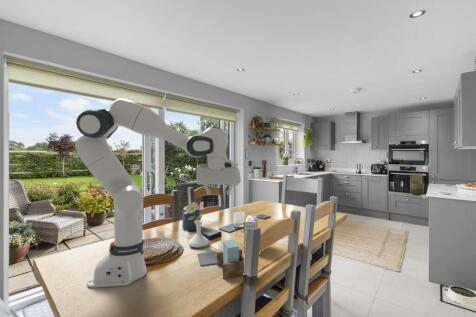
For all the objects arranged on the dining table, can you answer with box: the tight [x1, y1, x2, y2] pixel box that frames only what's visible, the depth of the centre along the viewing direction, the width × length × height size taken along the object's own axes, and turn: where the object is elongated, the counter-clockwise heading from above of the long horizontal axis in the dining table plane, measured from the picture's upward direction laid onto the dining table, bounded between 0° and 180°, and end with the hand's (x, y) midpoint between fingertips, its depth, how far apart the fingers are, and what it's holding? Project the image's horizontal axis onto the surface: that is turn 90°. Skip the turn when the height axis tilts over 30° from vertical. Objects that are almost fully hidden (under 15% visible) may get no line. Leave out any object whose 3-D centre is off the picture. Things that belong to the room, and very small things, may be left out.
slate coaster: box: [196, 251, 217, 267], centre depth 119 cm, size 9×13×1 cm
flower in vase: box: [185, 201, 210, 249], centre depth 136 cm, size 13×11×25 cm
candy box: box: [243, 214, 259, 253], centre depth 132 cm, size 14×6×16 cm, turn 168°
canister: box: [181, 206, 202, 232], centre depth 167 cm, size 13×13×18 cm
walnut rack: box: [216, 248, 245, 280], centre depth 108 cm, size 12×13×6 cm
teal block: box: [222, 239, 240, 264], centre depth 107 cm, size 5×9×12 cm, turn 16°
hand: (218, 194), depth 108 cm, fingers open, 8 cm apart
